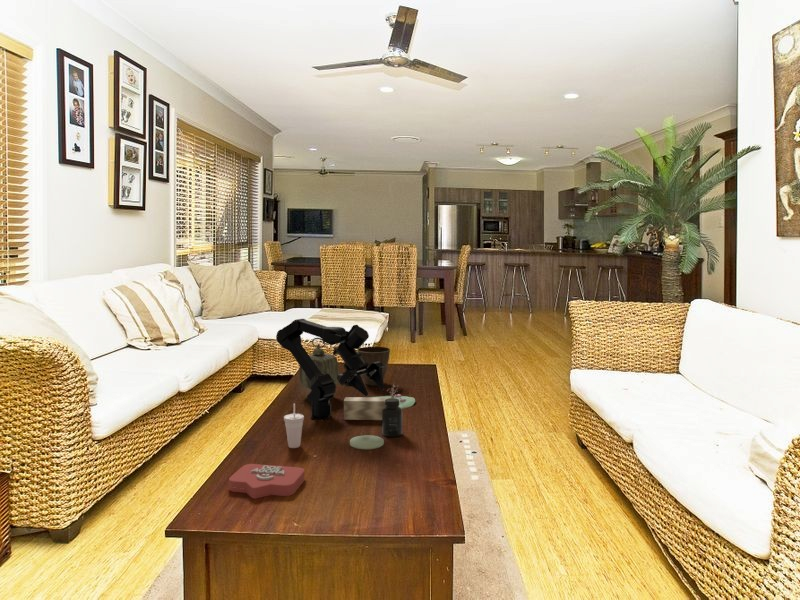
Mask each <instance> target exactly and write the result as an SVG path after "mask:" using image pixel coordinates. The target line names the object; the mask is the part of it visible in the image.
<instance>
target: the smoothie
mask: <svg viewBox="0 0 800 600" xmlns="http://www.w3.org/2000/svg"><path fill="white" fill-rule="evenodd" d="M292 404H293V407H292V408H293V413H290V414H288V413H287V414H286V415H284V416H283V421H284V425H285V430H286V438H287V447H289V448H290V449H297V448H299V447H301V441H302V433H303V424H304V420H305V416H304V415H303V414H302V413H296V403H292Z"/></svg>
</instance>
